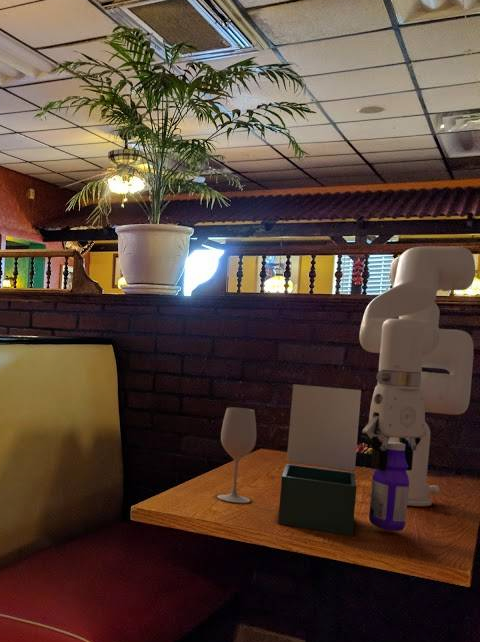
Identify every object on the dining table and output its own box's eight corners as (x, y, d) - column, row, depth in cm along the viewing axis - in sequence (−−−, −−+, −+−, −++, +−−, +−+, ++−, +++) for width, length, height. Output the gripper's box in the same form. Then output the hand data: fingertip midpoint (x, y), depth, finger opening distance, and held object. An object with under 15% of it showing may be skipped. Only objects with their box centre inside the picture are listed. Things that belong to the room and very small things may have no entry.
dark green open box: (352, 535, 147) (356, 486, 147) (278, 523, 153) (281, 476, 153) (350, 517, 162) (354, 472, 162) (283, 507, 168) (286, 463, 168)
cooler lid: (361, 390, 163) (360, 390, 164) (293, 384, 169) (293, 384, 170) (354, 470, 161) (354, 470, 162) (286, 461, 167) (286, 461, 168)
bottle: (410, 533, 148) (418, 446, 147) (381, 531, 148) (389, 444, 147) (390, 523, 155) (398, 440, 155) (363, 521, 156) (370, 438, 155)
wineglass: (234, 504, 168) (241, 411, 167) (209, 496, 174) (216, 407, 173) (258, 502, 171) (265, 411, 170) (232, 494, 178) (239, 406, 177)
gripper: (380, 380, 144) (372, 473, 145) (448, 383, 149) (440, 473, 150) (350, 377, 151) (342, 465, 152) (416, 379, 156) (408, 465, 157)
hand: (391, 468), depth 151 cm, fingers closed on bottle, 5 cm apart
